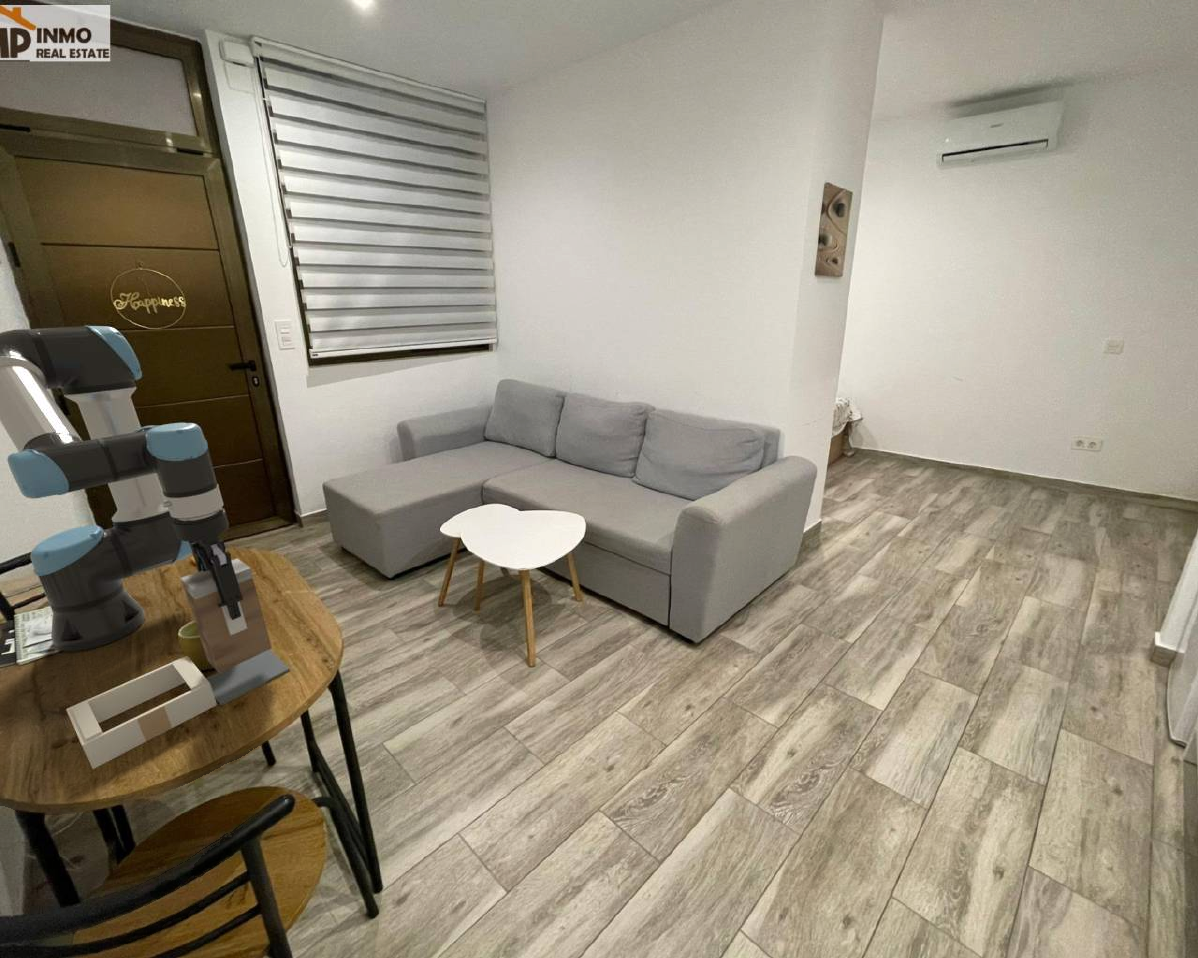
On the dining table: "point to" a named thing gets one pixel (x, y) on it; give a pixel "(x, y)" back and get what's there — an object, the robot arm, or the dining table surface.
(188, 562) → the dining table surface
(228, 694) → the mat
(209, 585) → the walnut box
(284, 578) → the dining table surface
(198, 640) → the mug
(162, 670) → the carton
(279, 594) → the dining table surface
